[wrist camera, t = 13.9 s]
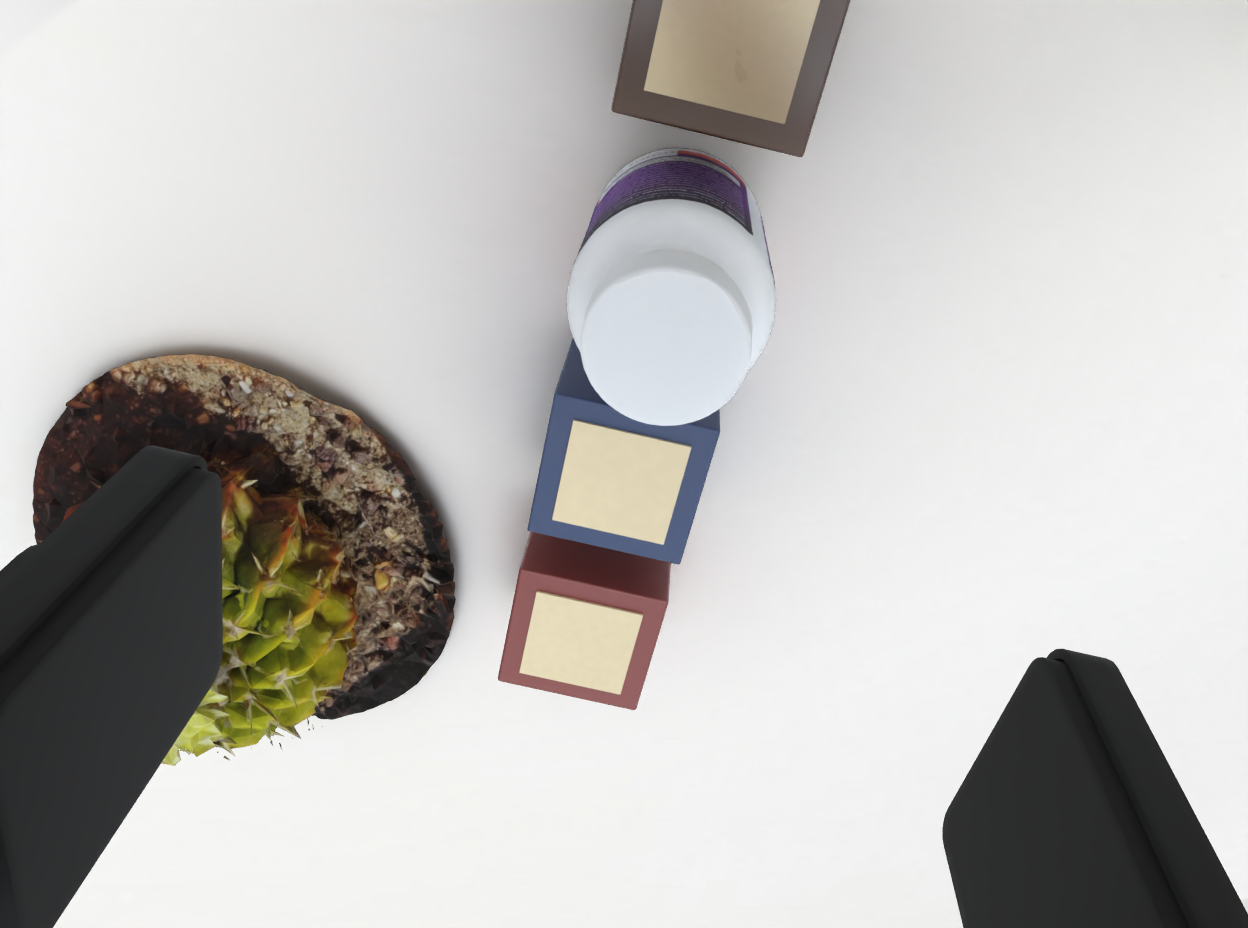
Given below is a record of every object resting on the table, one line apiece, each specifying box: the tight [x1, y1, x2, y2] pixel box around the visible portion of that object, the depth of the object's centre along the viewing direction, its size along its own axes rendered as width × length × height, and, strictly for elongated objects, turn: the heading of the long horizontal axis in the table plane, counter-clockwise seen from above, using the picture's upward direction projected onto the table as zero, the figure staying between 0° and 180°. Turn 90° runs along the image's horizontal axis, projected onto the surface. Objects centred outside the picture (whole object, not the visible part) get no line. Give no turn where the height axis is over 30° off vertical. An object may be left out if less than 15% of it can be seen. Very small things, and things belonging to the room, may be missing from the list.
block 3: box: [612, 0, 850, 157], centre depth 25 cm, size 5×5×5 cm
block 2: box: [498, 532, 671, 710], centre depth 35 cm, size 5×5×5 cm
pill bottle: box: [567, 148, 776, 426], centre depth 26 cm, size 5×5×10 cm
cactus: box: [32, 354, 455, 765], centre depth 34 cm, size 17×16×10 cm
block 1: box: [528, 338, 720, 564], centre depth 31 cm, size 5×5×5 cm
